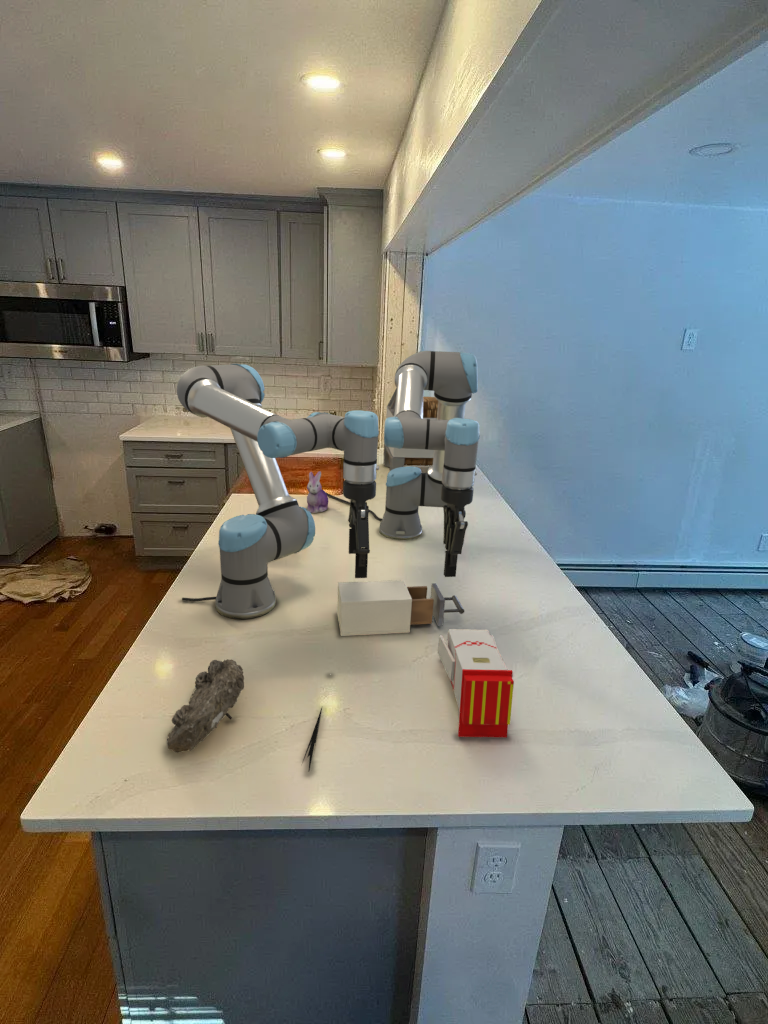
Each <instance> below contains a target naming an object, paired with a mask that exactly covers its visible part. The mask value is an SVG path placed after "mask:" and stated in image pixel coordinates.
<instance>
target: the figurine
mask: <svg viewBox="0 0 768 1024" xmlns="http://www.w3.org/2000/svg"><path fill="white" fill-rule="evenodd" d="M321 477H322V471H321V470H318V471H317V473H316V474H315V475H314V473H313V471H309V473H308V479H309V481H308V483H307V486H306V489H307V492H308V494H307V496H306V504H307V507H306V509H307V511H309V512H310V513H311V514H312V513H313V514H317V513H322V512H325V511H327V510H328V509H329V496H327V494H326V493H327V492H326V491H325V490H324V489H323V488H322V487H323V486H322V484H321V482H320V480H321Z"/></svg>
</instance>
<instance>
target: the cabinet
mask: <svg viewBox="0 0 768 1024" xmlns="http://www.w3.org/2000/svg"><path fill="white" fill-rule="evenodd" d="M407 587H408V586H407V584H406V582H405V580H404V579H396V580H394V579H393V580H392V579H391V580H368V581H340V582H339V581H338V582H337V604H336V605H337V606H336V609H337V610H336V615H337V621H338V627H339V633H340V637H348V636H349V637H350V636H368V635H369V636H371V635H388V634H406V633H407V634H408V633H411V632H410V631H411V625H410V621H411V606H412V598H411V596H410V594H409V591H408V589H407Z"/></svg>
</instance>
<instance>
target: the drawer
mask: <svg viewBox="0 0 768 1024" xmlns="http://www.w3.org/2000/svg"><path fill="white" fill-rule="evenodd" d="M406 587H407V589H408V591H409V594H410V596H411V598H412V606H411V621H410V626H412V625H413V626H414V625H432V624H433V619H434V620H435V621H434V622H435V623H436V625H437V626H438V627H443V626H444V618H445V617H444V616H445V614H447V613H450V614H451V613H459V614H460V615H463V614H464V613H465V608H464V607H463V605H462V603H461V602H460V600H459V598H458V597H457V595H452V596H449V597H447V596H446V597H444V595H443V594H442V592H441V590H440V588H439V586H438V584H437V583H436V582H432V583H431V586H430V595H429V598H428V586H427V585H417V586H415V585H414V586H406ZM446 601H452V602H453V604H454V606H455V608H454V609H453V608H451V609H450V608H449V609H445V604H446Z"/></svg>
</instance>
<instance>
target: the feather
mask: <svg viewBox="0 0 768 1024" xmlns="http://www.w3.org/2000/svg"><path fill="white" fill-rule="evenodd" d="M329 675H330V676H331V675H332V674H331V673H330V674H329ZM322 710H323V707H321V708H320V710H319V713H318V716H317V719H316V723H315V725H314V728H313V731H312V733H311V737H310V739H309V742H308V745H307V748H306V751H305V754H304V757H303V760H302V763H301V767H302V765H303V763H304V761H305V758H308V759H309V760H308V762H307V763H308V764H307V766H308V771H310V770H311V766H312V765H311V764H312V760H313V757H315V756H314V755H315V751H316V749H315V746H317V739H318V733H319V729H320V722H321V717H322V712H323V711H322ZM313 754H314V755H313ZM306 755H307V757H306Z"/></svg>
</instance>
